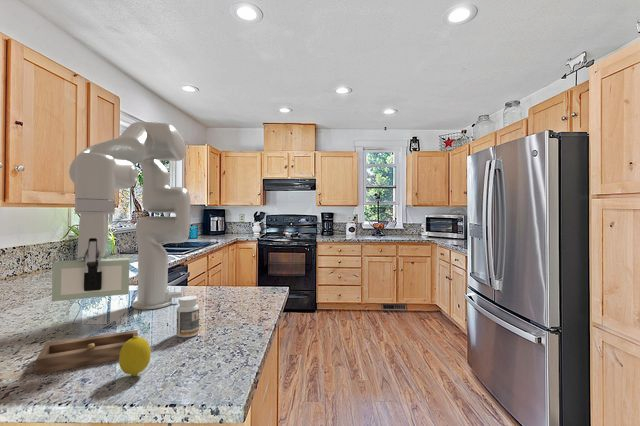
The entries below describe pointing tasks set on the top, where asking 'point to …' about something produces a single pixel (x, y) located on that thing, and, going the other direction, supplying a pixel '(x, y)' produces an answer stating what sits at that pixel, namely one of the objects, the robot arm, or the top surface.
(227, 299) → the top surface
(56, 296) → the frame
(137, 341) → the lemon
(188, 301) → the pill bottle
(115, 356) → the wooden tray
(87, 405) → the top surface
